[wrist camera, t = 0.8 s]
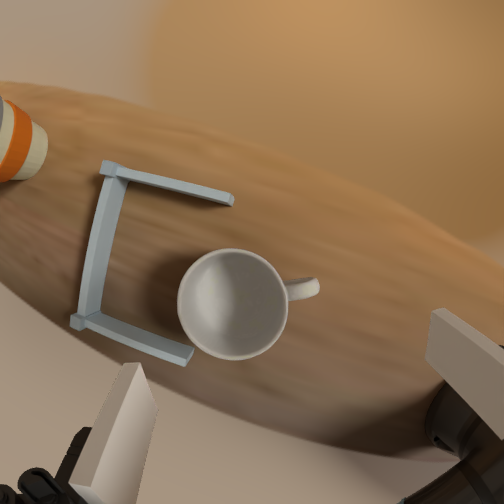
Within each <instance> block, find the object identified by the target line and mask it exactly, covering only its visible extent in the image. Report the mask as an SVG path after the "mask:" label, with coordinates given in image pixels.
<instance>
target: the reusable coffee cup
mask: <svg viewBox="0 0 504 504" xmlns="http://www.w3.org/2000/svg"><path fill="white" fill-rule="evenodd" d="M47 148H48V138H47V134H46V132H45V131H44V129H43V128H41V127H40V126H38V125H37V124H36V123H34V122H33V121H31V119H30V117H29V116H28V114H27V113H25V112H24V111H22V110H21V109H20V108H18V107H17V106H16V105H14V104H13V103H12V102H10V101H8V100H2V97H1V96H0V182H6V181H8V180H26V179H29V178H31V177H33V176H34V175H35V174H36V173H37V172H38V170H39V169H40V167H41V166H42V164H43V162H44V159H45V156H46V153H47Z"/></svg>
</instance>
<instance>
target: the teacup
mask: <svg viewBox="0 0 504 504" xmlns="http://www.w3.org/2000/svg"><path fill="white" fill-rule="evenodd" d="M319 289H320V287H319V283H318V280H317V279H316V278H313V277H308V278H300V279H294V280H288V281H282V279H281V278H280V276H279V274H278V273H277V271H276V270H275V269H274V267H273V266H272V265H271V264H270V263H269V262H268V261H266V260H265V259H264V258H262V257H261V256H259V255H257V254H255V253H253V252H250V251H247V250H243V249H236V248H227V249H219V250H215V251H212V252H210V253H208V254H206V255H204V256H202V257H201V258H199V259H198V260H197V261H195V262H194V263H193V264H192V265H191V266H190V268H189V269H188V270H187V272H186V273H185V275H184V276H183V278H182V280H181V283H180V286H179V290H178V297H177V311H178V316H179V320H180V323H181V325H182V327H183V329H184V331H185V333H186V334H187V336H188V337H189V339H190V340H191V341H192V342H193V343H194V344H195V345H196V346H197V347H199V348H200V349H201V350H203V351H204V352H206V353H208V354H210V355H212V356H214V357H217V358H221V359H226V360H245V359H248V358H251V357H254V356H257V355H259V354H261V353H263V352H264V351H266V350H267V349H269V348H270V347H271V346H272V345H273V344H274V343H275V341H277V339H278V338H279V337H280V335H281V333H282V331H283V329H284V327H285V324H286V321H287V316H288V301H293V300H300V299H305V298H309V297H312V296H314V295H316V294H318V292H319Z"/></svg>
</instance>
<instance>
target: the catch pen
mask: <svg viewBox="0 0 504 504" xmlns="http://www.w3.org/2000/svg"><path fill="white" fill-rule="evenodd" d="M100 174H103V175H106V176H105V179H104V182H103V186H102V190H101V193H100V197H99V201H98V205H97V208H96V212H95V217H94V221H93V225H92V229H91V234H90V239H89V243H88V248H87V253H86V259H85V264H84V270H83V276H82V282H81V289H80V295H79V303H78V311H77V313H74V314H72V315H71V318H70V327H72V328H74V329H76V330H78V331H81V330H83V329H85V328H89V329H91V330H93V331H95V332H97V333H100V334H102V335H104V336H106V337H109V338H111V339H113V340H116V341H118V342H120V343H123V344H125V345H128V346H130V347H133V348H135V349H138V350H140V351H143V352H145V353H148V354H150V355H153V356H156V357H158V358H161V359H164V360H167V361H169V362H172V363H175V364H178V365H181V366H184V367H185V366H186V364H187V363H188V361H189V360H190V358H191V357H192V355H193V352H194V347H191V346H188V345H185V344H182V343H179V342H176V341H173V340H170V339H167V338H165V337H162V336H159V335H156V334H154V333H151V332H148V331H145V330H143V329H140V328H138V327H135V326H132V325H130V324H127V323H125V322H122V321H120V320H117V319H115V318H112V317H110V316H108V315H105V314H103V313H101V310H100V306H101V300H102V293H103V288H104V282H105V276H106V271H107V266H108V261H109V256H110V251H111V247H112V242H113V238H114V234H115V229H116V225H117V221H118V217H119V213H120V209H121V206H122V202H123V198H124V195H125V191H126V188H127V184H128V183H129V182H130V181H134V182H138V183H142V184H147V185H151V186H155V187H159V188H163V189H167V190H171V191H175V192H179V193H183V194H187V195H191V196H195V197H199V198H203V199H206V200H210V201H214V202H218V203H222V204H225V205H229V206H233V202H234V199H235V198H234V197H233V196H232V195H231V193H227V192H223V191H220V190H216V189H212V188H208V187H204V186H200V185H196V184H192V183H188V182H183V181H179V180H175V179H171V178H167V177H162V176H158V175H154V174H149V173H145V172H140V171H136V170H131V169H128V168H126V167H124V166H121V165H119V164H117V163H115V162H111V161H106V160H103V163H102V166H101V169H100Z"/></svg>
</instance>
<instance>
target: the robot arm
mask: <svg viewBox="0 0 504 504" xmlns="http://www.w3.org/2000/svg"><path fill="white" fill-rule="evenodd" d="M425 360H426V361H427V362H428V363H429V364H430V365H431V366H432V367H433V368H434V369H435V370H436V371H437V372H438V373H439V374H440V375H441V376H442V377H443V378H444V379H445V381H446V382H447V383H446V384H445V386H444V387H443V388H442V389H441V390H440V392H439V393H438V394H437V396H436V397H435V399H434V401H433V402H432V404H431V406H430V408H429V411H428V413H427V417H426V422H425V431H426V434H427V436H428V438H429V439H430V440H431V442H432V443H433V444H434V445H435V446H436V447H437V448H439V449H441V450H443V451H445V452H447V453H450V454H452V455H454V456H456V457H458V458H459V459H460V460H461V461H460V462H459V463H457V464H456V465H455V466H453V467H452V468H451V469H449V470H448V471H447V472H445V473H444V474H442V475H441V476H440V477H438V478H437V479H435V480H434V481H432V482H431V483H429V484H428V485H426V486H425V487H423V488H421V489H420V490H418V491H417V492H415V493H413V494H412V495H410V496H408V497H407V498H403V499H402V500H401V501H400V502H399V503H397V504H504V346H502V345H497V344H496V343H494V342H493V341H491V340H490V339H489V338H487V337H486V336H484V335H483V334H482V333H480V332H479V331H477V330H476V329H474V328H473V327H472V326H470V325H469V324H467V323H466V322H464V321H463V320H461V319H460V318H458V317H457V316H455V315H454V314H453V313H451V312H450V311H448V310H447V309H445V308H444V307H443V308H440V309H437V310H433V311H431V320H430V328H429V336H428V343H427V349H426V355H425ZM157 413H158V408H157V406H156V403H155V401H154V398H153V396H152V393H151V390H150V388H149V385H148V383H147V380H146V377H145V375H144V372H143V369H142V366H141V363H140V362H137V363H124V364H123V366H122V368H121V370H120V372H119V374H118V377H117V378H116V380H115V382H114V384H113V386H112V388H111V390H110V392H109V394H108V396H107V398H106V400H105V403H104V404H103V407H102V409H101V411H100V413H99V415H98V417H97V419H96V421H95V423H94V426H93V428H91V427H83V428H82V429H81V430H80V431H79V432H78V433H77V434H76V435H75V436H74V438H73V440H72V442H71V444H70V447H69V449H68V451H67V455H65V457H64V459H63V461H62V463H61V466H60V467H59V470H58V472H57V474H56V476H55V478H53V477H52V476H51V474H50V473H49V472H48V471H46V470H45V469H43V468H37V467H36V468H32V469H29V470H27V471H25V472H24V473H23V474H22V475H21V476H20V478H19V480H18V489H19V490H20V491H21V492H22V493H23V494H17V493H16V492H15V491H14V490H13V489H12V488H11V487H9V486H8V485H4V484H0V504H136V500H137V495H138V491H139V487H140V482H141V477H142V473H143V469H144V465H145V461H146V456H147V452H148V448H149V444H150V440H151V436H152V432H153V428H154V424H155V420H156V416H157Z"/></svg>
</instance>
